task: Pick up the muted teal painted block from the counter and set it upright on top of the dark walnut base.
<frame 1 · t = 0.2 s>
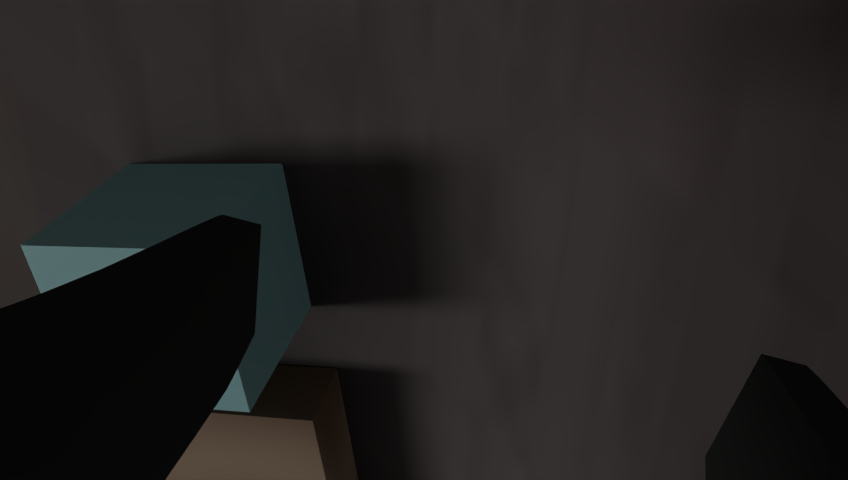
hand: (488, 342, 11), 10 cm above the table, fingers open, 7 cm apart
teal block: (223, 235, 23), on the table
walnut base: (215, 478, 29), on the table
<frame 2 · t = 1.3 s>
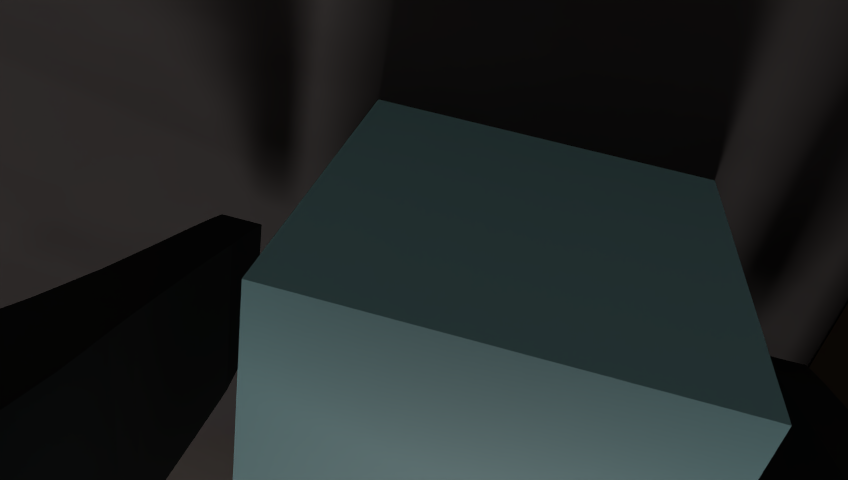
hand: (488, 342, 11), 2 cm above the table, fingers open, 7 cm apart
teal block: (504, 274, 12), on the table
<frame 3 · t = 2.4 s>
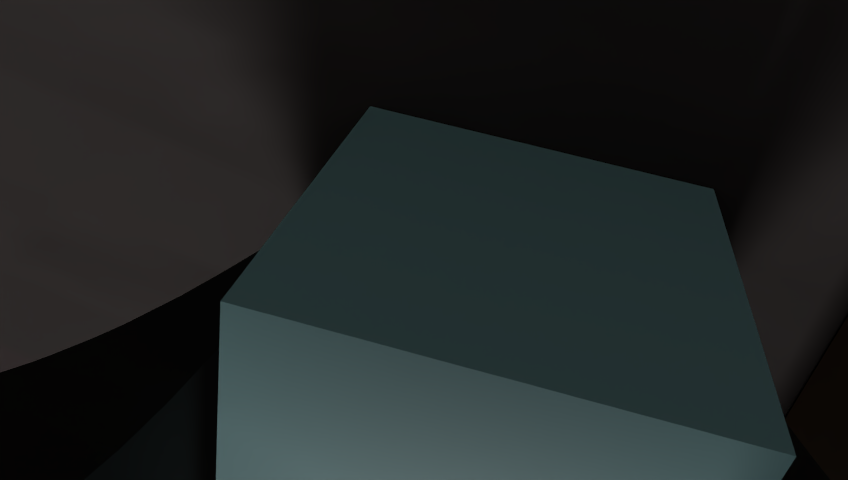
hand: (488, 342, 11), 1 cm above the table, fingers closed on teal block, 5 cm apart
teal block: (499, 286, 12), on the table, touching gripper
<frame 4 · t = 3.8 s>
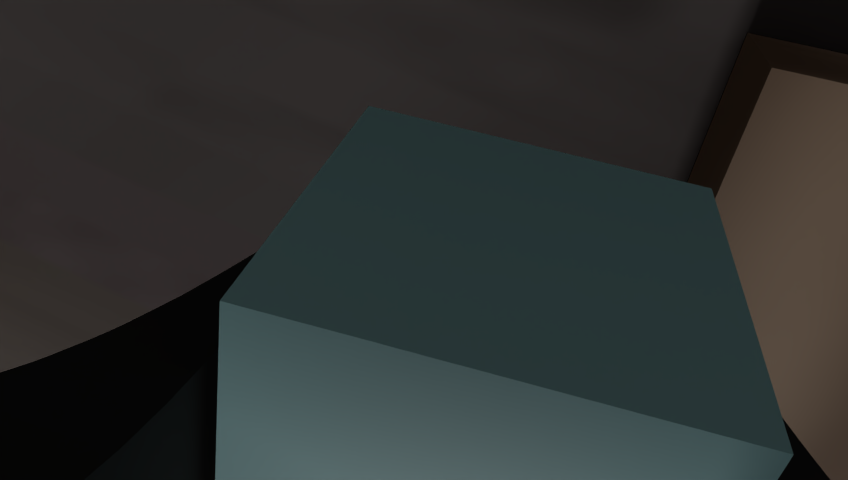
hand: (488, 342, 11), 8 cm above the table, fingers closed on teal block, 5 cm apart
teal block: (498, 286, 12), point 7 cm above the table, touching gripper
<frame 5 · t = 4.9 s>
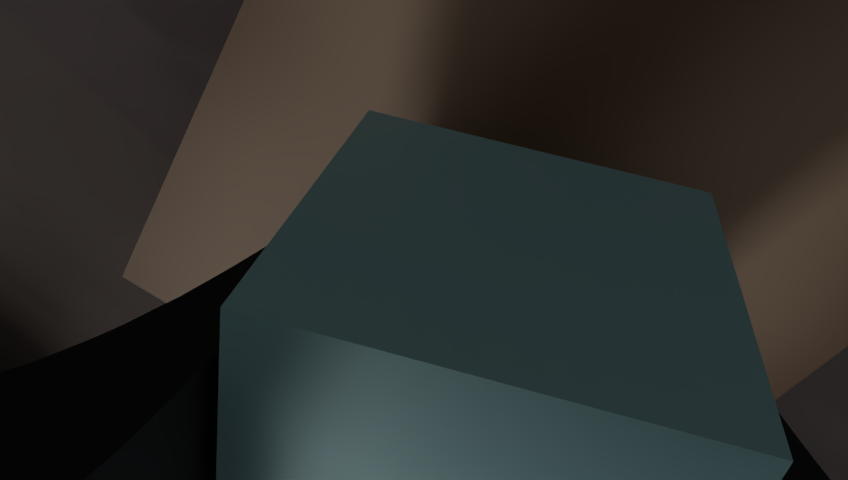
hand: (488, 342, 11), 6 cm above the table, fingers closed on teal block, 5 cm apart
teal block: (498, 289, 12), point 4 cm above the table, touching gripper
walnut base: (524, 175, 15), on the table
when the fingers open (5 cm above the table, at t = 5.5 s): teal block stays where it is, resting on walnut base.
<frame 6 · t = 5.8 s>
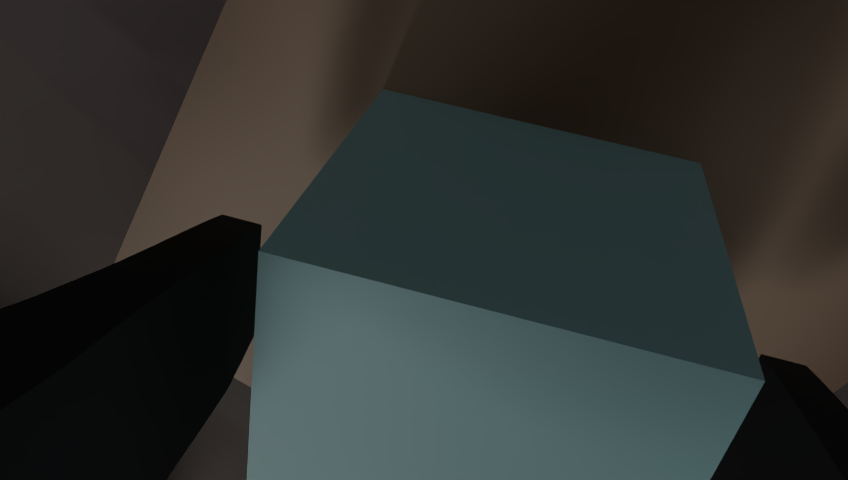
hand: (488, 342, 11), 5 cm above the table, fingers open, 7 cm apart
teal block: (503, 258, 13), point 2 cm above the table, touching walnut base
walnut base: (519, 192, 15), on the table
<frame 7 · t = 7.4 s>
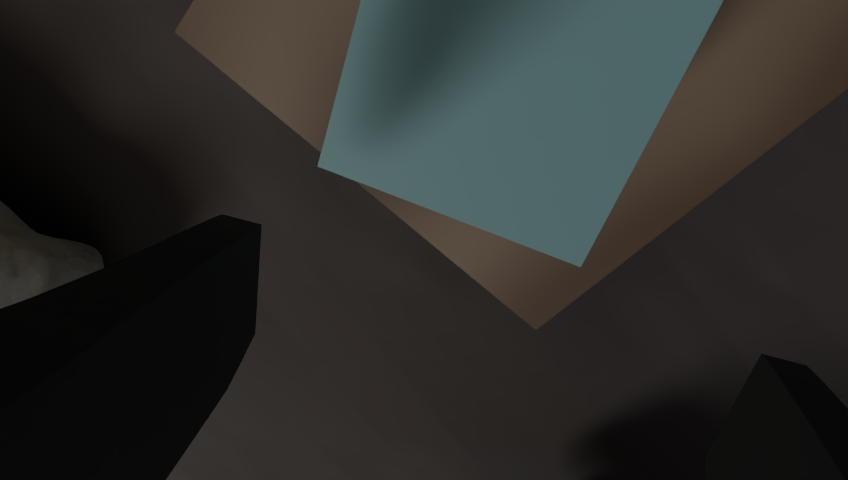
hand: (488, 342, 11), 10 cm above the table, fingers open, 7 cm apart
teal block: (524, 15, 16), point 2 cm above the table, touching walnut base
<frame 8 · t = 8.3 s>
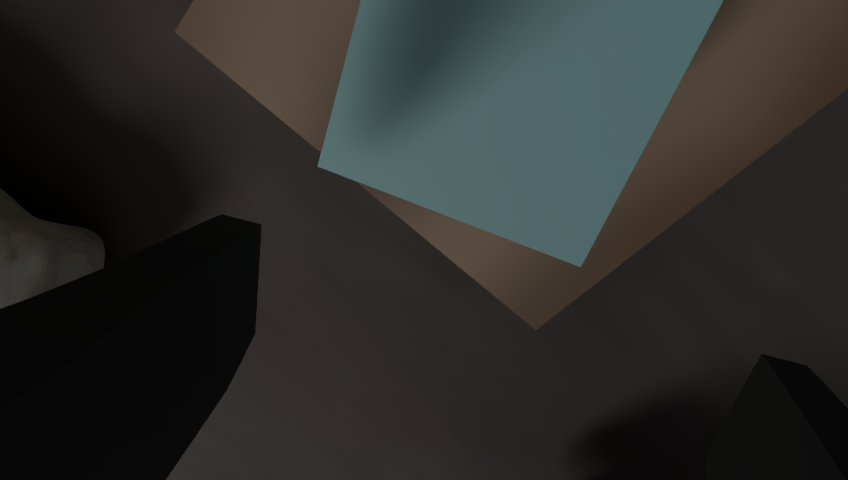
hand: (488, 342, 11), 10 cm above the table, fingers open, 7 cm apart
teal block: (524, 15, 16), point 2 cm above the table, touching walnut base
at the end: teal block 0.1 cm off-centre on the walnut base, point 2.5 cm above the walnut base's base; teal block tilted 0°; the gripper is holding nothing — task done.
